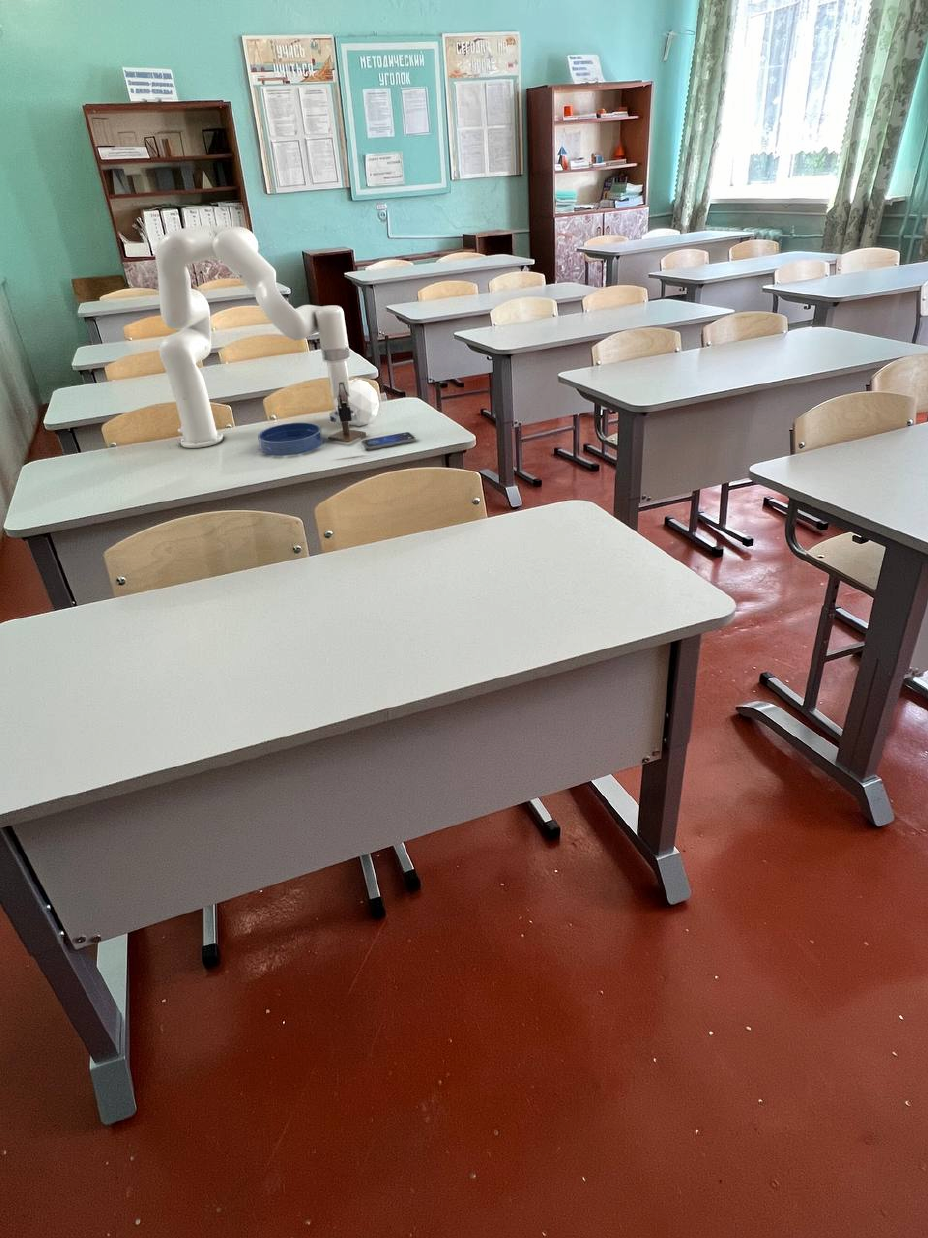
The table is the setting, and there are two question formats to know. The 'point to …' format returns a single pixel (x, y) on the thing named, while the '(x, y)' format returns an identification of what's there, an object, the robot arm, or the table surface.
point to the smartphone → (388, 440)
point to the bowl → (290, 438)
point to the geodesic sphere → (361, 401)
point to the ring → (336, 418)
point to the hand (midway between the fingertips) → (345, 419)
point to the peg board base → (347, 434)
